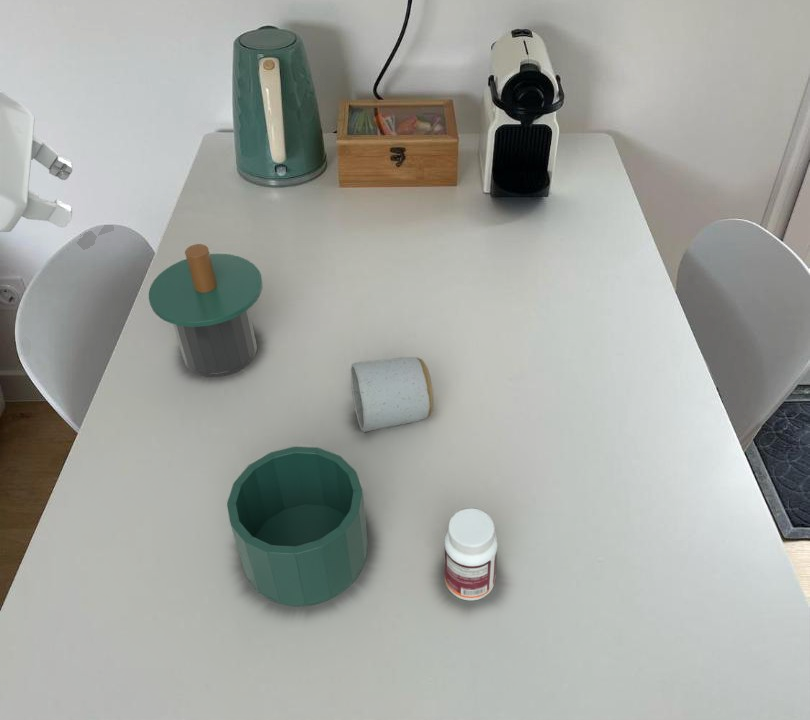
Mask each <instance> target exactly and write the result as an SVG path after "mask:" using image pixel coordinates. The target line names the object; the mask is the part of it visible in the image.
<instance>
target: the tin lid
mask: <svg viewBox="0 0 810 720" xmlns="http://www.w3.org/2000/svg"><path fill="white" fill-rule="evenodd" d="M184 254H185V259H183V260H180V261H178V262H176V263H173V264H172V265H170V266H169V267H167V268H165V269H164V270H163V271H161V273H159V274H158V275H157V276H156V278H155V279H154V280H153V281H152V283H151V285H150V287H149V291H148V301H149V304H150V305H149V306H150V308H151V309H152V311H153V313H154V314H155V315H156V316H157V317H159V318H160V319H161V320H162V321H165V322H167V323H170V324H172V325H173V324H175V325H180V326H188V327H201V326H209V325H215V324H218V323H222V322H225V321H228V320H230V319H233V318H235V317H237V316H239V315H240V314H242V313H244V312H245V311H247V310H248V309H249V310H250V309H251V307H253V305H255V304H256V302H257V301H258V300H259V298H260V296H261V294H262V291H263V289H264V287H263V284H264V283H263V278H262V274H261V271H260V270H259V268H258V267H257V266H256V265H255V264H254V263H253V262H251V261H250V260H248V259H246V258H244V257H241V256H239V255H234V254H228V253H210V250H209V247H208V246H207V245H206V244H203V243H195V244H193V245H192V244H191V245H190V246H188V247H187V248H185V250H184Z"/></svg>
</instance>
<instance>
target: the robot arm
mask: <svg viewBox="0 0 810 720" xmlns="http://www.w3.org/2000/svg"><path fill="white" fill-rule="evenodd" d="M35 121H36V118H35V116H34V114H33V113H32V112H31V111H30V110H29V109H28V108H27V107H26V106H24V105H23V104H22V103H20V102H19V101H17V100H16V99H14V98H13V97H11V96H9V95H8V94H7V93H5V92H3V91H2V90H0V232H1V233H10V232H12V231H13V230H14V228H15V227H16V225H17V224H18V222H19V221H20V220H21V218H22V217H23V218H24V219H26V220H32V221H43V222H44V221H45V222H49V223H51V224H53V225H56V226H57V227H59V228H66V227H67V226H68V224H70V222H71V220H72V219H73V207H71V205H69V204H66V203H64V202H63V201H61V200H59V199H57V198H56V199H55V200H54V201H51V200H46V199H43V198H40V195H39V194H38V193H36V192H34V191H32V190H30V176H31V166H32V161H33V159H34V161H36V162H38V163H39V164H40V165H42V166H43V167H45V168H46V169H47V170H48V173H49V174H50V175H52V176H54V177H57V178H58V179H59V180H62V181H66V180H68V178H69V177H70V175H71V174H72V172H73V162H72V160H71V159H68V158H67V157H65V156H63V155H62V154H60V153H58V152H57V151H56V150H55V148H53V146H51V145H50V144H49V143H48V142H47V141H46V140H45V139H43V138H42V137H41V136H38V135H37V134H35V133H34V132H35Z"/></svg>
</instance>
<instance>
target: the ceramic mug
mask: <svg viewBox="0 0 810 720" xmlns="http://www.w3.org/2000/svg"><path fill="white" fill-rule="evenodd" d="M350 382H351V390H352V397H353V398H352V399H353V404H354V409H355V410H354V411H355V414H356V419H357V423H358V425H359V426H358V427H359V428H360V430H361V431H362V432H363V433H366V432H371V431H375V430H381V429H385V428H391V427H395V426H399V425H406V424H410V423H417V422H419V421H422V420H426V419H427V418H428V417H430V416H431V414H432V412H433V411H434V390H433V384H432V379H431V375H430V371H429V369H428V365H427V364H426V362H425V361H424V360H423V359H422V358H420V357H417V356H401V357H394V358H386V359H378V360H367V361H358V362H354V363H352V364H351V367H350Z"/></svg>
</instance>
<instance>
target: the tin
mask: <svg viewBox="0 0 810 720" xmlns="http://www.w3.org/2000/svg"><path fill="white" fill-rule="evenodd" d="M227 499H228V500H227V501H226V507H227V512H228V518H229V524H230V527H231V531H232V533H233V537H234V540H235V544H236V547H237V551H238V554H239V557H240V561H241V564H242V567H243V571H244V574H245V576H246V578H247V579H248V581H249V582H250V584H251V585H252V587H253V588H254V589H255V590H256V591H257V592H258V593H259V594H261V595H262V597H265V598H266V599H268V600H269V601H272V602H274V603H277V604H280V605H283V606H284V605H285V606H291V607H306V606H313V605H318V604H321V603H323V602H327V601H329V600H331V599H333V598H335V597H337V596H339V595H340V594H341V593H343V592H344V591H345V590H347V589H348V588H349V587H350V586H351V585H352V584H353V583H354V582H355V581H356V579H357V578H358V577H359V576H360V573H361V572H362V570H363V568H364V566H365V562H366V559H367V556H368V555H367V553H368V543H369V537H368V530H367V521H366V512H365V503H364V502H365V501H364V493H363V488H362V485H361V482H360V479H359V476H358V473H357V471H356V469H354V467H353V466H351V465H350V464H349V463H348V462H347V461H346V460H345V459H344V458H343V457H342V456H341V455H339V454H336V453H334V452H331V451H329V450H326V449H323V448H321V447H313V446H312V447H311V446H291V447H287V448H283V449H279V450H275V451H274V450H273V451H270V452H269V453H267V454H265V455H264V456H262V457H260V458H259V459H257V460H255V461H254V462H252V463H250V464H249V465H248V466H247V467H246V468H244V470H243V471H242V472H241V474H240V475H239V476H238V477H237V478H236V480H235V481H234V482H233V484H232V487H231V490H230V493H229V496H228V498H227Z"/></svg>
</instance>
